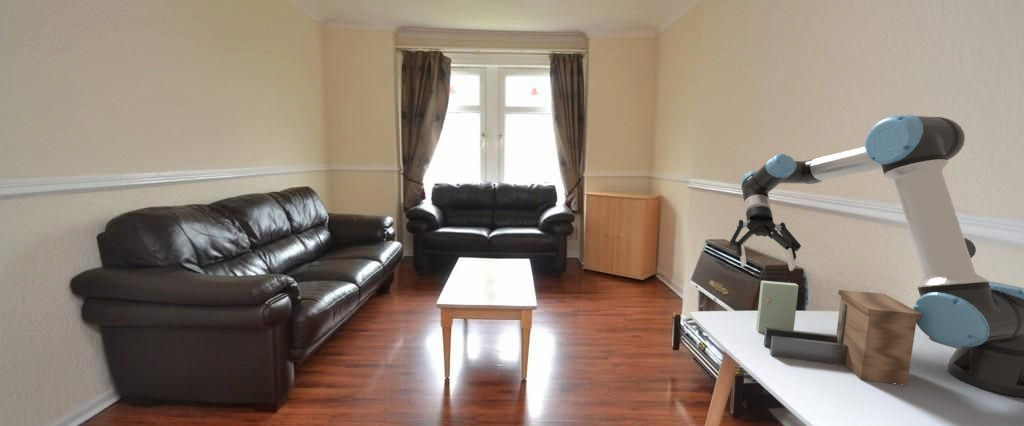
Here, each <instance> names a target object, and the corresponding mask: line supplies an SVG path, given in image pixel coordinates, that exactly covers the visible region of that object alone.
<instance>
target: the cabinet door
mask: <svg viewBox="0 0 1024 426" xmlns="http://www.w3.org/2000/svg"><path fill="white" fill-rule="evenodd" d="M798 294H799V285H798V284H797V283H795V282H794V283H793V282H782V281H770V280H760V289H759V298H758V306H757V307H758V308H757V318H756V324H755V326H756V327H755V328H756V329H755V330H756V331H757V333H762V334H765V327H767V328H776V329H785V330H794V331H795V323H796V321H795V320H796V311H797V304H798Z"/></svg>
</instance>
